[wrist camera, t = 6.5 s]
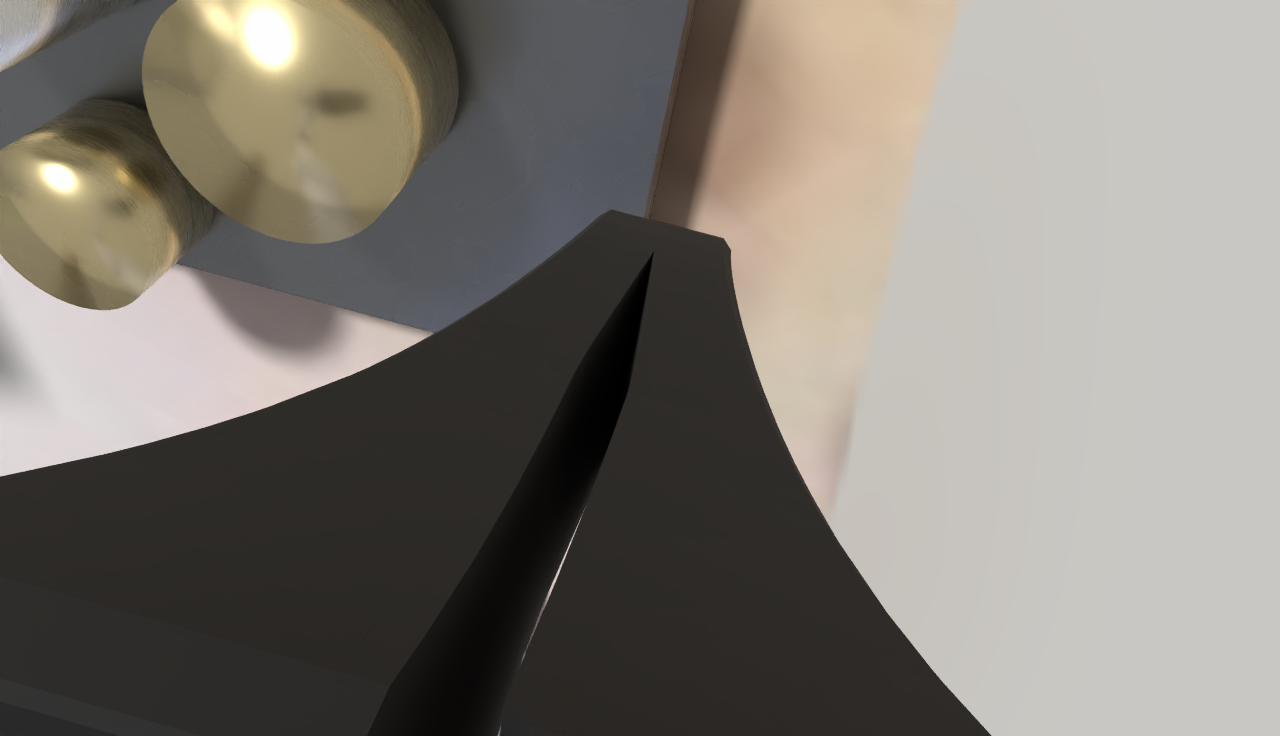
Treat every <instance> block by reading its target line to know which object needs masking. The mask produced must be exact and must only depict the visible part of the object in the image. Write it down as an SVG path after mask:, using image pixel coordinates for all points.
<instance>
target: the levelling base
mask: <svg viewBox="0 0 1280 736" xmlns="http://www.w3.org/2000/svg"><path fill="white" fill-rule="evenodd" d="M176 1H177V0H0V254H1V255H2V256H3V257H4V259H5V260H6V261H7V262H8V263H9V264H10V265H11V266H12V267H13V268H14V269H15V270H16V271H17V272H19V273H20V274H21V275H22V276H23V277H24V278H26V279H27V280H28V281H30V282H31V283H32V284H34V285H35V286H37V287H38V288H40V289H41V290H43V291H45V292H46V293H48V294H50V295H52V296H54V297H56V298H58V299H60V300H62V301H65V302H67V303H70V304H73V305H76V306H79V307H83V308H88V309H96V310H111V309H117V308H121V307H124V306H126V305H128V304H130V303H132V302H133V301H134V300H136V299H137V298H138V297H139V296H140V295H141V294H142V293H143V292H145V291H146V290H147V289H148V288H149V287H150V286H151V285H152V284H153V283H154V282H156V281H157V280H158V279H159V278H160V277H161V276H162V275H163V274H164V273H165V272H167V271H168V270H169V269H170V268H171V267H172V266H173V265H174V264H175V263H177V264H181V265H185V266H189V267H192V268H196V269H200V270H204V271H207V272H211V273H215V274H218V275H222V276H226V277H230V278H233V279H237V280H241V281H244V282H248V283H252V284H256V285H259V286H263V287H267V288H271V289H274V290H278V291H282V292H285V293H289V294H293V295H297V296H300V297H304V298H308V299H311V300H315V301H319V302H323V303H326V304H330V305H334V306H338V307H341V308H345V309H349V310H352V311H356V312H360V313H364V314H367V315H371V316H375V317H378V318H382V319H386V320H390V321H393V322H397V323H401V324H405V325H408V326H412V327H416V328H419V329H423V330H427V331H431V332H434V333H436V332H438V331H440V330H442V329H443V328H445V327H447V326H448V325H450V324H451V323H453V322H455V321H456V320H458V319H459V318H461V317H463V316H464V315H466V314H467V313H469V312H471V311H472V310H474V309H476V308H477V307H479V306H480V305H482V304H484V303H485V302H487V301H488V300H490V299H492V298H493V297H495V296H496V295H498V294H499V293H501V292H502V291H504V290H505V289H506V288H508V287H509V286H511V285H512V284H513V283H515V282H516V281H517V280H519V279H520V278H522V277H523V276H524V275H526V274H527V273H529V272H530V271H531V270H533V269H534V268H536V267H537V266H538V265H540V264H541V263H542V262H544V261H545V260H546V259H548V258H549V257H550V256H551V255H553V254H554V253H555V252H557V251H558V250H559V249H560V248H562V247H563V246H564V245H565V244H567V243H568V242H569V241H570V240H572V239H573V238H574V237H575V236H576V235H578V234H579V233H580V232H581V231H582V230H584V229H585V228H586V227H587V226H588V225H589V224H591V223H592V222H593V221H594V220H595V219H596V218H597V217H598V216H600V215H602V214H604V213H605V212H607V211H609V210H611V209H612V210H616V211H620V212H624V213H627V214H631V215H635V216H639V217H643V218H647V219H650V215H651V210H652V206H653V201H654V196H655V192H656V187H657V182H658V177H659V173H660V168H661V163H662V159H663V154H664V149H665V145H666V140H667V135H668V131H669V126H670V121H671V116H672V112H673V107H674V102H675V98H676V93H677V88H678V84H679V79H680V74H681V69H682V65H683V60H684V55H685V51H686V46H687V41H688V37H689V32H690V27H691V23H692V18H693V13H694V8H695V4H696V0H428V2H429V3H430V5H431V6H432V8H433V9H434V11H435V12H436V14H437V15H438V17H439V19H440V21H441V23H442V25H443V27H444V28H445V30H446V33H447V35H448V38H449V40H450V43H451V45H452V49H453V53H454V56H455V60H456V65H457V72H458V86H459V93H458V102H457V108H456V112H455V116H454V120H453V122H452V124H451V127H450V129H449V131H448V133H447V135H446V136H445V138H444V139H443V141H442V142H441V144H440V145H439V146H438V147H437V148H436V150H435V151H434V152H433V153H432V154H431V155H430V157H429V158H428V159H427V160H426V161H425V163H424V164H423V165H422V166H421V167H420V169H419V170H418V171H417V172H416V173H415V174H414V176H413V177H412V178H411V179H410V180H409V182H408V183H407V184H406V185H405V186H404V188H403V189H402V190H401V191H400V192H399V193H398V195H397V196H396V197H395V198H394V199H393V201H392V202H391V203H390V204H389V205H388V206H387V208H386V209H385V210H384V211H383V212H382V214H381V215H380V216H379V217H378V218H377V219H376V220H375V221H374V222H373V223H372V224H371V225H369V226H368V227H367V228H366V229H364V230H363V231H361V232H359V233H357V234H355V235H353V236H351V237H348V238H345V239H343V240H340V241H334V242H329V243H318V244H307V243H296V242H290V241H285V240H281V239H277V238H274V237H271V236H268V235H265V234H262V233H260V232H258V231H255V230H253V229H251V228H249V227H247V226H245V225H243V224H241V223H239V222H238V221H236V220H234V219H233V218H231V217H230V216H228V215H227V214H225V213H224V212H222V211H221V210H219V209H218V208H217V207H216V206H214V205H213V204H212V203H210V202H209V201H208V200H207V199H206V198H205V197H204V196H202V195H201V194H200V193H199V192H198V191H197V190H196V189H195V188H194V187H193V186H192V185H191V184H190V182H189V181H188V180H187V179H186V178H185V177H184V176H183V175H182V173H181V172H180V171H179V169H178V168H177V167H176V165H175V164H174V163H173V161H172V160H171V158H170V157H169V155H168V153H167V152H166V150H165V149H164V147H163V145H162V144H161V142H160V139H159V137H158V135H157V133H156V131H155V129H154V127H153V124H152V121H151V119H150V116H149V113H148V110H147V106H146V101H145V97H144V91H143V83H142V61H143V56H144V50H145V46H146V43H147V40H148V37H149V34H150V32H151V30H152V28H153V27H154V25H155V23H156V21H157V20H158V19H159V17H160V16H161V15H162V14H163V13H164V12H165V10H166V9H167V8H169V7H170V6H171V5H172V4H174V3H175V2H176Z"/></svg>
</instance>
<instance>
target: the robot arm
mask: <svg viewBox="0 0 1280 736" xmlns="http://www.w3.org/2000/svg"><path fill="white" fill-rule="evenodd" d="M586 504H587V505H586ZM584 509H585V510H584ZM583 511H584V512H583ZM582 514H583V515H582ZM581 516H582V517H581ZM580 518H581V520H580ZM579 520H580V522H579ZM578 523H579V525H578ZM577 525H578V527H577ZM576 527H577V530H576ZM575 530H576V532H575ZM574 532H575V535H574V537H573V534H574ZM572 537H573V540H572V543H571V545H570V548H569V550H568V553H567V555H566V558H565V560H564V563H563V565H562V568H561V570H560V573H559V575H558V578H557V580H556V583H555V585H554V587H553V590H552V592H551V595H550V597H549V599H548V602H547V604H546V606H545V609H544V611H543V613H542V616H541V618H540V621H539V623H538V625H537V628H536V630H535V632H534V635H533V637H532V640H531V642H530V644H529V647H528V649H527V651H526V654H525V650H526V647H527V644H528V641H529V639H530V636H531V634H532V631H533V628H534V626H535V623H536V621H537V618H538V615H539V613H540V610H541V608H542V605H543V603H544V601H545V599H546V596H547V594H548V592H549V589H550V587H551V585H552V582H553V580H554V578H555V576H556V573H557V571H558V569H559V566H560V564H561V562H562V560H563V557H564V555H565V553H566V550H567V548H568V546H569V543H570V541H571V539H572ZM524 655H525V656H524ZM0 736H991V735H990V734H989V733H988V732H987V730H986V729H985V728H984V727H983V726H982V725H981V724H980V723H979V722H978V720H977V719H976V718H975V717H974V716H973V715H972V714H971V713H970V712H969V711H968V710H967V708H966V707H964V705H963V704H962V703H961V702H960V701H959V700H958V699H957V697H955V695H954V694H953V693H952V692H951V691H950V690H949V689H948V688H947V686H945V684H944V683H943V682H942V681H941V680H940V679H939V677H938V676H937V675H936V674H935V673H934V672H933V670H932V669H931V668H930V666H929V665H928V664H927V663H926V662H925V660H924V659H923V658H922V656H921V655H920V654H919V653H918V651H917V650H916V649H915V648H914V646H913V645H912V644H911V642H910V641H909V640H908V639H907V637H906V636H905V635H904V634H903V632H902V631H901V630H900V629H899V627H898V626H897V625H896V624H895V622H894V621H893V620H892V619H891V617H890V616H889V615H888V613H887V612H886V611H885V609H884V608H883V606H882V605H881V603H880V602H879V600H878V599H877V597H876V596H875V595H874V593H873V592H872V590H871V589H870V587H869V586H868V584H867V583H866V581H865V580H864V579H863V577H862V576H861V574H860V573H859V571H858V570H857V568H856V567H855V565H854V564H853V562H852V561H851V559H850V558H849V557H848V555H847V554H846V552H845V551H844V549H843V548H842V546H841V545H840V543H839V542H838V540H837V538H836V537H835V535H834V533H833V532H832V530H831V528H830V526H829V525H828V523H827V521H826V520H825V518H824V516H823V514H822V513H821V511H820V509H819V507H818V506H817V504H816V502H815V501H814V499H813V497H812V495H811V493H810V491H809V489H808V488H807V486H806V484H805V482H804V480H803V478H802V476H801V474H800V472H799V470H798V468H797V466H796V465H795V463H794V460H793V458H792V456H791V454H790V452H789V450H788V448H787V446H786V444H785V441H784V439H783V437H782V435H781V432H780V430H779V428H778V426H777V423H776V421H775V418H774V416H773V413H772V411H771V408H770V406H769V403H768V401H767V398H766V396H765V393H764V391H763V388H762V385H761V382H760V379H759V377H758V374H757V371H756V368H755V365H754V362H753V358H752V355H751V352H750V349H749V345H748V342H747V339H746V335H745V332H744V329H743V325H742V321H741V317H740V313H739V309H738V304H737V299H736V295H735V290H734V284H733V278H732V270H731V250H730V248H729V246H728V245H727V243H726V241H725V240H724V238H721V237H717V236H713V235H709V234H705V233H701V232H697V231H693V230H690V229H686V228H682V227H678V226H674V225H670V224H666V223H662V222H658V221H655V220H651V219H647V218H643V217H639V216H635V215H631V214H627V213H624V212H620V211H616V210H612V209H611V210H609V211H607V212H605V213H604V214H602V215H600V216H598V217H597V218H596V219H595V220H594V221H593V222H592V223H591V224H589V225H588V226H587V227H586V228H585V229H584V230H582V231H581V232H580V233H579V234H578V235H576V236H575V237H574V238H573V239H572V240H570V241H569V242H568V243H567V244H565V245H564V246H563V247H562V248H560V249H559V250H558V251H557V252H555V253H554V254H553V255H551V256H550V257H549V258H548V259H546V260H545V261H544V262H542V263H541V264H540V265H538V266H537V267H536V268H534V269H533V270H531V271H530V272H529V273H527V274H526V275H524V276H523V277H522V278H520V279H519V280H517V281H516V282H515V283H513V284H512V285H511V286H509V287H508V288H506V289H505V290H504V291H502V292H501V293H499V294H498V295H496V296H495V297H493V298H492V299H490V300H488V301H487V302H485V303H484V304H482V305H480V306H479V307H477V308H476V309H474V310H472V311H471V312H469V313H467V314H466V315H464V316H463V317H461V318H459V319H458V320H456V321H455V322H453V323H451V324H450V325H448V326H447V327H445V328H443V329H442V330H440V331H438V332H436V333H435V334H433V335H431V336H429V337H427V338H426V339H424V340H422V341H420V342H418V343H416V344H415V345H413V346H411V347H409V348H407V349H405V350H403V351H401V352H399V353H397V354H395V355H393V356H391V357H389V358H387V359H385V360H383V361H381V362H379V363H377V364H375V365H373V366H371V367H369V368H366V369H364V370H362V371H360V372H357V373H355V374H353V375H350V376H348V377H345V378H342V379H340V380H337V381H335V382H332V383H329V384H327V385H324V386H322V387H319V388H316V389H314V390H311V391H309V392H306V393H304V394H301V395H298V396H296V397H293V398H291V399H288V400H285V401H283V402H280V403H278V404H275V405H272V406H270V407H267V408H264V409H261V410H258V411H255V412H252V413H249V414H246V415H243V416H240V417H237V418H234V419H230V420H227V421H224V422H221V423H218V424H214V425H211V426H208V427H205V428H201V429H198V430H194V431H191V432H187V433H184V434H180V435H176V436H173V437H169V438H166V439H162V440H159V441H155V442H152V443H148V444H144V445H140V446H136V447H132V448H128V449H124V450H120V451H116V452H112V453H108V454H104V455H99V456H94V457H90V458H85V459H80V460H76V461H71V462H66V463H62V464H57V465H53V466H48V467H43V468H39V469H34V470H29V471H25V472H20V473H15V474H11V475H6V476H1V477H0Z"/></svg>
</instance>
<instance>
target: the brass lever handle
mask: <svg viewBox="0 0 1280 736" xmlns="http://www.w3.org/2000/svg"><path fill="white" fill-rule="evenodd" d="M142 83H143V91H144V97H145V101H146V106H147V110H148V113H149V116H150V119H151V121H152V124H153V127H154V129H155V131H156V133H157V135H158V137H159V139H160V142H161V144H162V145H163V147H164V149H165V150H166V152H167V153H168V155H169V157H170V158H171V160H172V161H173V163H174V164H175V165H176V167H177V168H178V169H179V171H180V172H181V173H182V175H183V176H184V177H185V178H186V179H187V180H188V181H189V182H190V184H191V185H192V186H193V187H194V188H195V189H196V190H197V191H198V192H199V193H200V194H201V195H202V196H204V197H205V198H206V199H207V200H208V201H209V202H210V203H212V204H213V205H214V206H216V207H217V208H218V209H219V210H221V211H222V212H224V213H225V214H227V215H228V216H230V217H231V218H233V219H234V220H236V221H238V222H239V223H241V224H243V225H245V226H247V227H249V228H251V229H253V230H255V231H258V232H260V233H262V234H265V235H268V236H271V237H274V238H277V239H281V240H285V241H290V242H296V243H307V244H318V243H329V242H334V241H340V240H343V239H345V238H348V237H351V236H353V235H355V234H357V233H359V232H361V231H363V230H364V229H366V228H367V227H368V226H369V225H371V224H372V223H373V222H374V221H375V220H376V219H377V218H378V217H379V216H380V215H381V214H382V212H383V211H384V210H385V209H386V208H387V206H388V205H389V204H390V203H391V202H392V201H393V199H394V198H395V197H396V196H397V195H398V193H399V192H400V191H401V190H402V189H403V188H404V186H405V185H406V184H407V183H408V182H409V180H410V179H411V178H412V177H413V176H414V174H415V173H416V172H417V171H418V170H419V169H420V167H421V166H422V165H423V164H424V163H425V161H426V160H427V159H428V158H429V157H430V155H431V154H432V153H433V152H434V151H435V150H436V148H437V147H438V146H439V145H440V144H441V142H442V141H443V139H444V138H445V136H446V135H447V133H448V131H449V129H450V127H451V124H452V122H453V120H454V116H455V112H456V108H457V102H458V93H459V86H458V72H457V65H456V60H455V56H454V53H453V49H452V45H451V43H450V40H449V38H448V35H447V33H446V30H445V28H444V27H443V25H442V23H441V21H440V19H439V17H438V15H437V14H436V12H435V11H434V9H433V8H432V6H431V5H430V3H429V2H428V0H177V1H176V2H175V3H174V4H172V5H171V6H170V7H169V8H167V9H166V10H165V12H164V13H163V14H162V15H161V16H160V17H159V19H158V20H157V21H156V23H155V25H154V27H153V28H152V30H151V32H150V34H149V37H148V40H147V43H146V46H145V50H144V56H143V61H142Z"/></svg>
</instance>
